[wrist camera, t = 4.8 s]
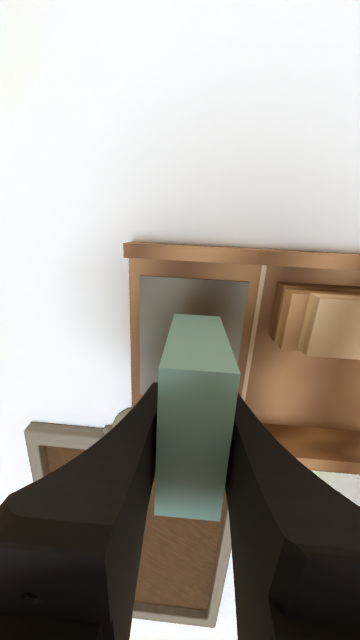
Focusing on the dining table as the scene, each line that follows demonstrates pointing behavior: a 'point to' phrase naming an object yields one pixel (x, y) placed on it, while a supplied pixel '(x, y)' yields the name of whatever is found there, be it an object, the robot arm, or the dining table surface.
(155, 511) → the rectangular block
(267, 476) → the robot arm
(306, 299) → the offcut stack
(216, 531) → the clipboard
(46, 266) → the dining table surface
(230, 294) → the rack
